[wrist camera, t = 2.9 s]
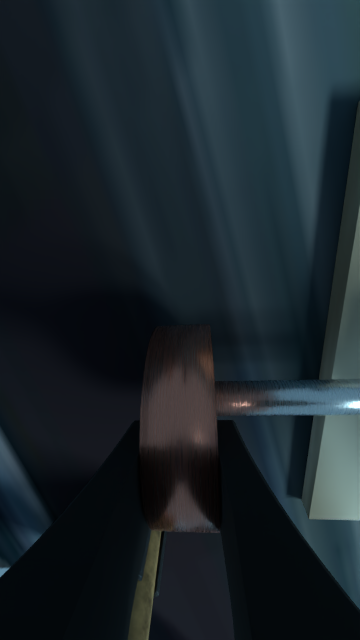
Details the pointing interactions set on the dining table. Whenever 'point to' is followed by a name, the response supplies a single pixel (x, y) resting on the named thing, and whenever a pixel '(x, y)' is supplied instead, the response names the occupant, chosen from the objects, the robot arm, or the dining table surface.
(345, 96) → the dining table surface
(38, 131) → the dining table surface
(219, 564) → the dining table surface
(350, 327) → the eye bracket
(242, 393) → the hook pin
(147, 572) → the ammunition clip
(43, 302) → the dining table surface
